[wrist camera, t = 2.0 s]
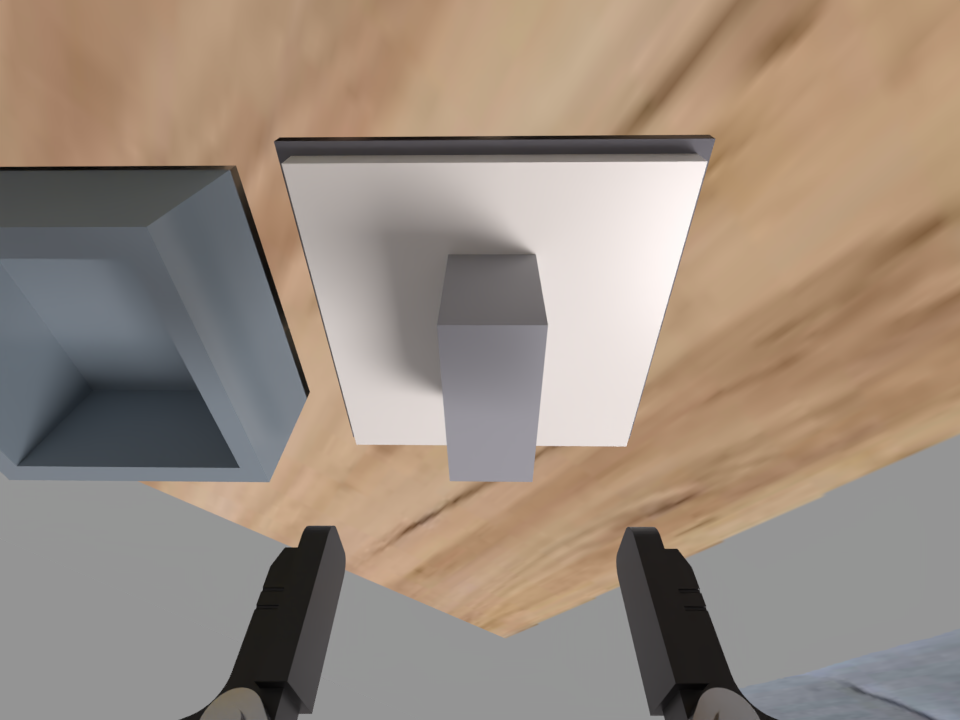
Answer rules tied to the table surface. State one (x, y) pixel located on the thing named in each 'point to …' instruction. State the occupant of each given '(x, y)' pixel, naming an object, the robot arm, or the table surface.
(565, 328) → the lid
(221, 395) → the grey storage bin
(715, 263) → the table surface
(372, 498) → the table surface
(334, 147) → the mat
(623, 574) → the robot arm
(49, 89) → the table surface
